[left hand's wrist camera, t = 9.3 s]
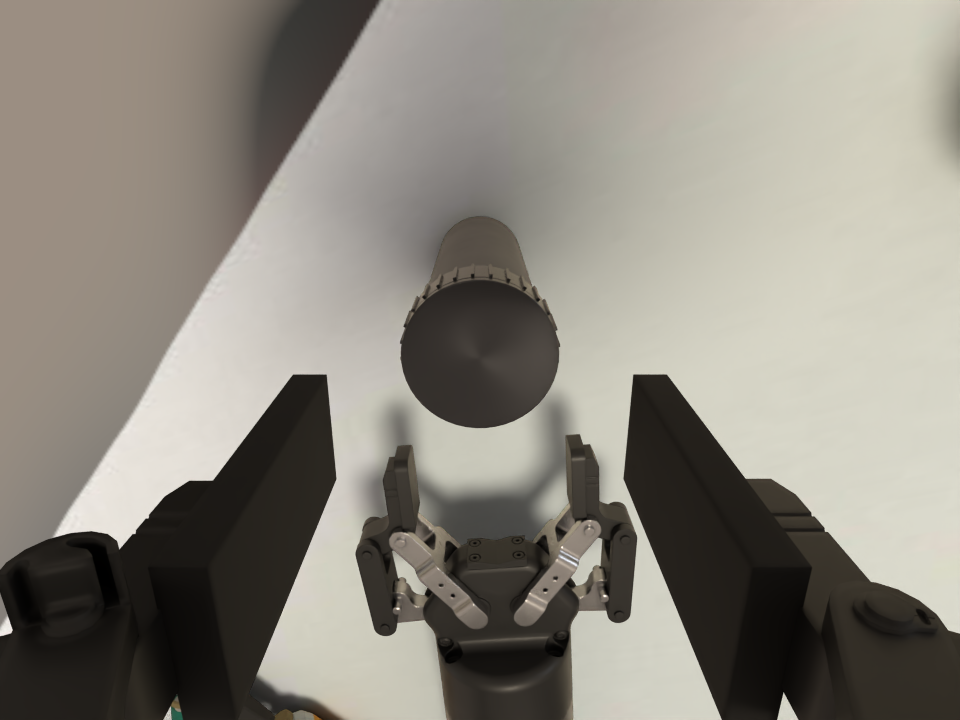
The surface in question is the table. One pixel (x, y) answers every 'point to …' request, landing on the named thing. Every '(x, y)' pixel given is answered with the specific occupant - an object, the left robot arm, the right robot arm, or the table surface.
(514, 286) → the lid
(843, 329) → the table surface
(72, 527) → the table surface
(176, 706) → the spray gun
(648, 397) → the left robot arm
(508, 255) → the gray cylindrical bottle
